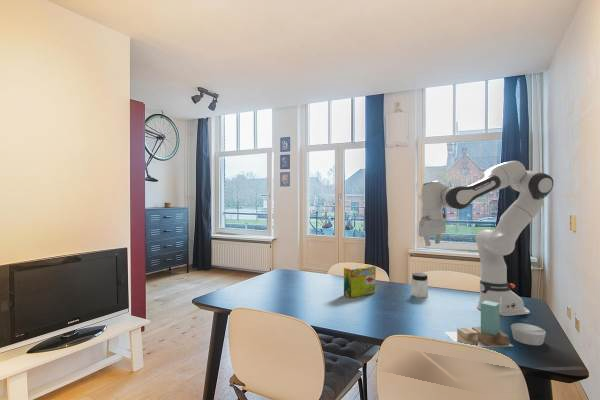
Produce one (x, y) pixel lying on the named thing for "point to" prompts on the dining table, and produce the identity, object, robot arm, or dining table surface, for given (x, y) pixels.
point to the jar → (419, 285)
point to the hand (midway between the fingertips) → (432, 244)
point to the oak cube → (467, 336)
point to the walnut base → (492, 338)
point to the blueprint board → (454, 337)
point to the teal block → (490, 317)
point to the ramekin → (528, 334)
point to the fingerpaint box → (359, 280)
